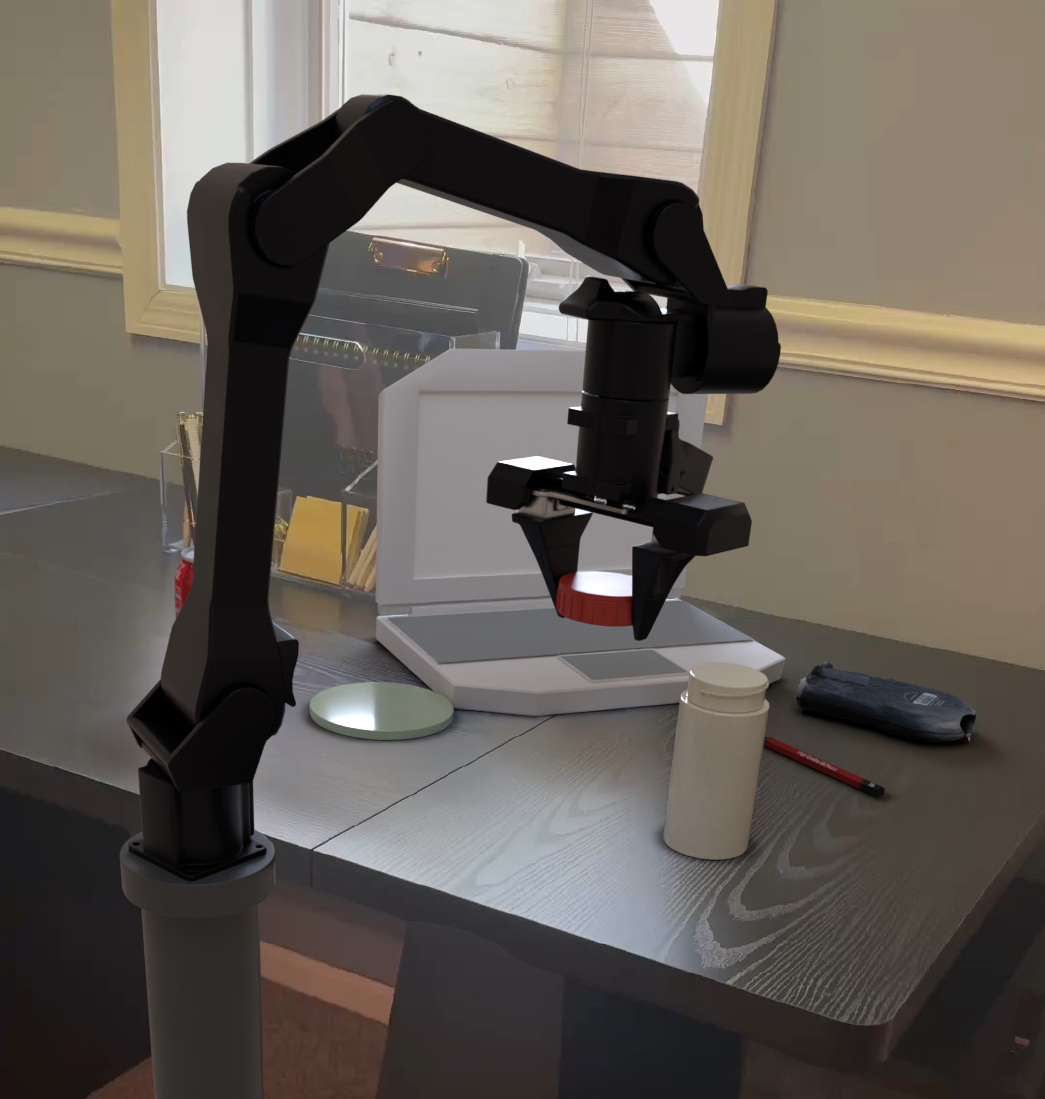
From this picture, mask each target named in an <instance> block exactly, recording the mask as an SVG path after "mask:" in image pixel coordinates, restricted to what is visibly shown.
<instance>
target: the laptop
mask: <svg viewBox="0 0 1045 1099" xmlns="http://www.w3.org/2000/svg"><path fill="white" fill-rule="evenodd" d="M585 352H586V350H561V349H559V350H557V349H554V350H552V349H510V348H509V349H505V348H504V349H503V348H501V349H500V348H498V349H497V348H449V349H447V350H445V351H444V352H442V353H440V354H439V355H437V356H435V357H434V358H432V359H431V360H429V361H428V362H426V363H424V364H423V365H421V366H420V367H418V368H415V370H413V371H411V372H410V373H408V374H407V375H405V376H403V377H402V378H400V379H398V380H397V381H395V382H394V383H392V384H390V385H389V386H387V387H385V388H384V389H382V390H381V392H380V393H379V394H378V408H377V409H378V411H377V414H378V415H377V416H378V418H377V474H376V475H377V478H376V479H377V483H376V534H375V535H376V540H375V541H376V542H375V545H376V547H375V550H376V551H375V600H374V601H375V603H376V604H377V613H378V615H377V616H376V618H375V640H377V641H378V642H379V643H380V644H381V645H382V646H383V647H384V648H385V649H387V651H389V652H390V653H391V654H392V655H393V656H394V657H395V658H396V659H398V660H399V661H400V662H401V664H403V665H404V666H405V667H407V669H408V670H409V671H411V672H412V673H413V674H414V675H415V676H417V677H418V678H419V680H420V681H422V682H423V683H424V685H426V686H427V687H428V688H430V690H431V691H433V692H436V693H438V694H440V695H442V696H444V697H445V698H447V699H448V700H449V701H450V702H451V703H452V705H453V708H454V710H455V709H456V710H466V711H475V712H476V711H477V712H487V713H497V714H506V715H509V714H510V715H519V716H527V717H528V716H529V717H540V716H552V715H564V714H575V713H584V712H585V713H586V712H595V711H597V712H598V711H607V710H618V709H628V708H641V707H651V706H661V705H671V704H680V696H681V694H682V693H683V692H684V691H685V690H687V688H688V680H689V672H690V669H691V668H692V667H694V666H696V665H699V664H704V663H732V664H738V665H743V666H747V667H750V668H753V669H756V670H758V671H760V672H762V673H763V674H765V675H766V677H767V679H768V680H769V685H770V684H772V683H775V682H777V681H778V680H780V679H781V677H782V674H783V671H784V667H785V664H786V661H787V658H786V657H785V656H783V655H782V654H780V653H778V652H776V651H774V650H772V649H771V648H769V647H767V646H765V645H763V644H761V643H759V642H758V641H756V640H755V639H754V638H752V637H751V636H749V635H748V634H746V633H743V631H740V630H738V629H736V628H734V627H733V626H731V625H729V624H727V623H725V622H724V621H722V620H720V619H718V618H716V617H714V616H712V614H709V613H707V612H705V611H704V610H702V609H700V608H698V607H696V606H694V605H693V604H691V603H689V602H687V601H686V600H682V599H680V598H682V593H683V589H684V588H685V587H686V580H687V570H688V564H687V565H686V566H685V568H684V569H683V571H682V572H681V574H680V575H679V577H678V578H677V580H676V582H675V583H674V585H673V587H672V589H671V591H670V593H669V594H668V597H667V599H666V601H665V603H664V605H663V607H662V609H661V611H660V613H659V615H658V617H657V619H656V621H655V623H654V625H653V627H652V629H651V631H650V633H649V635H648V637H647V638H646V639H645V640H641V641H637V640H635V639H634V634H633V626H623V627H612V626H599V625H591V624H586V623H581V622H577V621H574V620H571V619H568V618H561V617H559V616H558V615H557V612H556V610H555V607H554V604H553V602H552V599H551V596H550V594H549V591H548V588H547V586H546V583H545V580H544V578H543V575H542V571H541V570H540V567H539V565H538V562H537V560H536V558H535V556H534V554H533V552H532V549H531V547H530V545H529V543H528V541H527V539H526V537H525V535H524V533H523V531H522V528H521V526H520V525H519V524H518V523H514V522H512V514H513V513H518V512H519V509H518V510H512V509H508V508H504V507H500V506H496V505H492V504H488V503H487V502H486V494H487V478H488V476H489V474H490V473H491V471H492V470H493V468H494V467H495V465H496V464H497V462H499V461H507V460H514V459H521V458H529V457H536V456H538V457H543V458H547V459H552V460H556V461H561V462H565V463H570V464H574V466H575V468H576V456H577V445H578V433H579V426H574V425H570V424H567V421H568V409H569V408H573V407H581V399H582V391H583V390H582V387H583V375H584V364H585ZM708 395H709V394H682V393H680V392H679V391H677V390H676V389H675V388H674V387H673V386H672V385H670V394H669V403H668V411H667V412H673V413H678V419H679V422H680V425H679V439H681V440H683V441H686V442H688V443H690V444H692V445H694V446H696V447H697V448H699V449H701V450H702V446H703V437H704V430H705V429H704V428H705V420H706V411H707V403H708ZM679 497H684V496H683V495H679V494H670V495H666V494H658V498H659V499H664V500H668V499H673V498H679ZM595 499H596V500H601V498H598V499H597V498H596V496H595ZM601 501H605V502H606V500H605V499H604V500H601ZM623 506H624V507H628V508H633V509H635V507H633V506H628V505H623ZM652 533H653V527H649V526H645V525H641V524H637V523H633V522H629V521H625V520H621V519H617V518H613V517H609V516H605V515H601V514H596V513H593V514H592V517H591V519H590V521H589V523H588V524H587V526H586V528H585V530H584V532H583V534H582V536H581V539H580V547H579V558H578V569H577V572H585V571H598V572H612V573H619V574H625V575H630V576H632V546H635V545H640V544H644V543H649V542H651V541H652Z"/></svg>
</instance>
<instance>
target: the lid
mask: <svg viewBox="0 0 1045 1099" xmlns="http://www.w3.org/2000/svg"><path fill="white" fill-rule="evenodd" d="M556 607H557V611H558V612H559V613H560V614H561V615H562V616H564V617H566V618H568V619H571V620H574V621H577V622H581V623H586V624H591V625H599V626H612V627H623V626H633V625H632V576H630V575H625V574H619V573H612V572H598V571H585V572H575V573H570V574H566V575H564V576H562V577H561V578H560V580H559V587H558V589H557V600H556Z"/></svg>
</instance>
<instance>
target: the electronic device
mask: <svg viewBox="0 0 1045 1099" xmlns="http://www.w3.org/2000/svg"><path fill="white" fill-rule="evenodd" d="M794 700H795V701H796V702H797V705H798V708H799V709H800V711H801V712H803V711H812V712H817V713H818V714H819V713H820V714H823V715H826V716H829V717H833V718H838V719H840V720H850V721H852V722H855V723H858V724H864V725H871V726H874V727H876V728H879V729H880V730H882V731H886V732H887V733H889V734H893V735H895V736H901V737H905V738H907V739H909V740H918V741H920V742H928V743H946V742H954V741H959V740H961V739H964V738H965V737H967V739H968V742H970V741H971V736H972V735H973V733H974V731H975V728H976V719H977V712H976V710H974V708H973V707H972V706H971V705H970V704H969V703H968V702H966V701H965V700H964V699H962V698H960V697H958V696H957V695H954V694H951V693H949V692H945V691H942V690H938V689H935V688H930V687H926V686H922V685H918V684H913V683H909V682H906V681H905V682H904V681H901V680H896V679H892V678H883V677H880V676H871V675H869V674H866V673H861V672H855V671H848V670H842V669H841V670H840V669H836V668H834V665H833V664H832V663H831V662H830V661H824V662H823V663H821V664H817V665H814V666H812V668H811V670H810V671H808V672H807V673H806V674H805V675H804V677H803V678H801V679H800V680H799V684H798V685H797V688H796V695H795V697H794Z"/></svg>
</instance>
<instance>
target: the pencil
mask: <svg viewBox="0 0 1045 1099" xmlns="http://www.w3.org/2000/svg"><path fill="white" fill-rule="evenodd" d="M763 747H765V748H768V749H770V750H772V751H775V752H777V753H779V754H781V755H783V756H785V757H788V758H790V759H791V760H794V761H797V762H799V763H801V764H803V765H805V766H807V767H809V768H812V769H814V770H816V771H819V772H821V773H823V774H825V775H827V776H829V777H832V778H834V779H836V780H838V781H841V782H843V783H845V784H847V785H849V786H852V787H854V788H856V789H858V790H861V791H863V792H864V793H867V794H870V795H872V796H873V797H875V798H878V799H879V798H882V797H883V796H884V795H885V791H886V788H885V787H883V786H882V785H879V784H877V783H875V782H873V781H870V780H868V779H866V778H864V777H861V776H859V775H857V774H855V773H853V772H850V771H848V770H846V769H843V768H841V767H839V766H837V765H834V764H832V763H830V762H828V761H825V760H823V759H821V758H819V757H817V756H814V755H812V754H810V753H809V752H805V751H803V750H801V749H799V748H797V747H794V746H792V745H790V744H787V743H786V742H784V741H781V740H779V739H776V738H775V737H772V736H766V735H765V740H764V746H763Z"/></svg>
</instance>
